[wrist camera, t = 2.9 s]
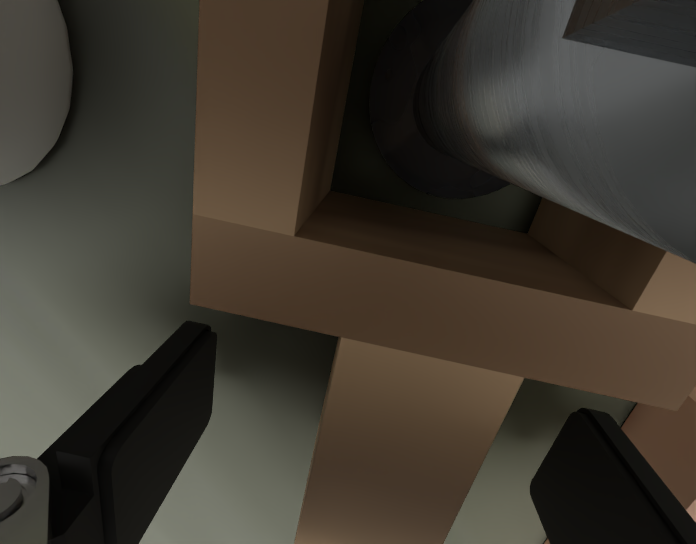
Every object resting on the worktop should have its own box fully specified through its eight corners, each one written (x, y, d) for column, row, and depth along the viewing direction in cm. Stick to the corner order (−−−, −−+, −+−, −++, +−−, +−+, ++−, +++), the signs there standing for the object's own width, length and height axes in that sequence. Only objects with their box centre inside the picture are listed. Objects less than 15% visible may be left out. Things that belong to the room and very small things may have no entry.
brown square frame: (312, -189, 6) (219, -618, 3) (752, -94, 6) (1267, -399, 3) (244, 407, 12) (182, 535, 8) (482, 459, 12) (529, 612, 8)
